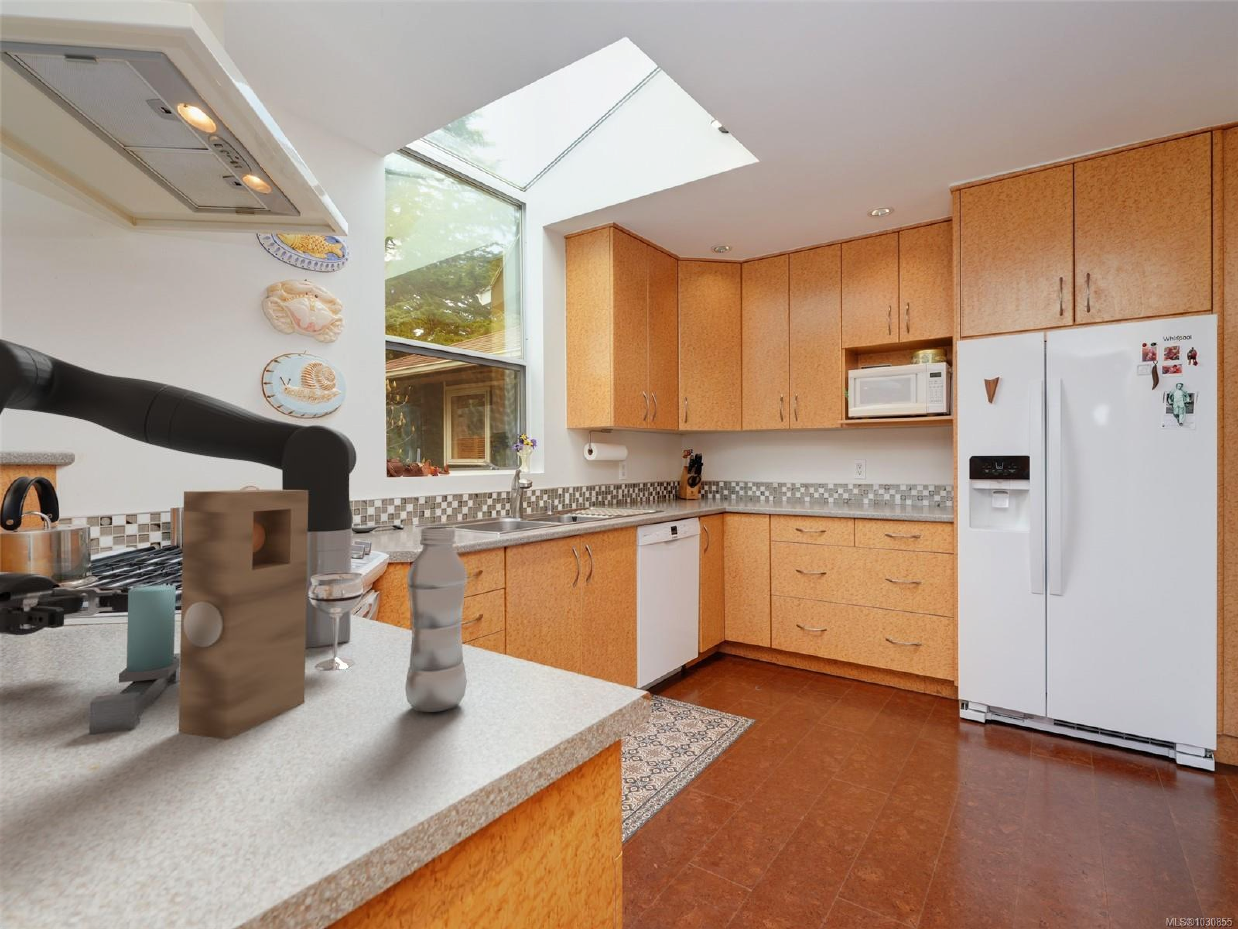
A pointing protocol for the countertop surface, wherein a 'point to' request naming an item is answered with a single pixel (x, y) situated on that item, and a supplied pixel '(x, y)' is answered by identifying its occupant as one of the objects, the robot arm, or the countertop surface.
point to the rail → (127, 704)
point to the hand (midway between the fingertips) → (101, 610)
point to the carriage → (150, 634)
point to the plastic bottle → (436, 623)
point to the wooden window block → (242, 609)
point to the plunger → (258, 536)
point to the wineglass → (335, 605)
